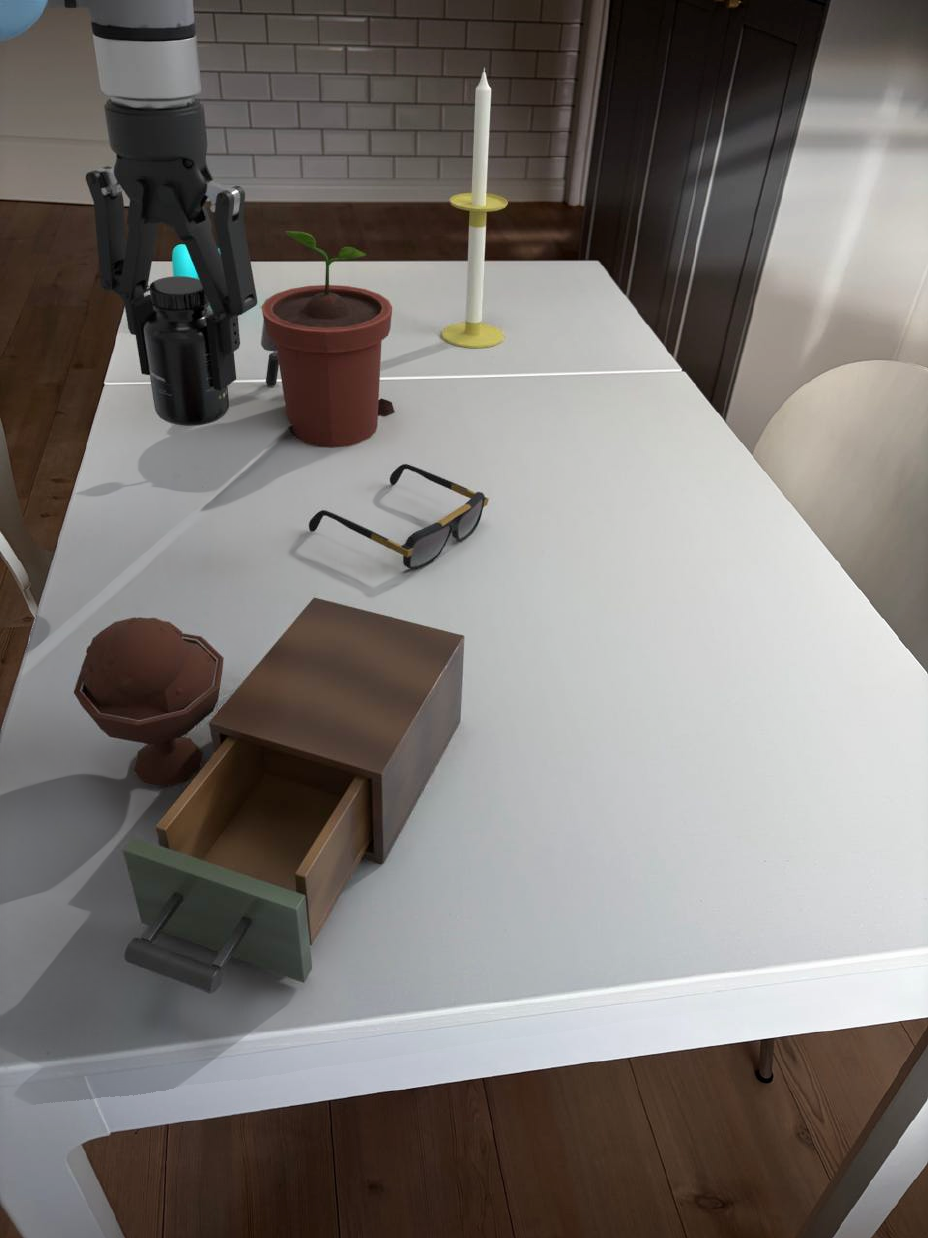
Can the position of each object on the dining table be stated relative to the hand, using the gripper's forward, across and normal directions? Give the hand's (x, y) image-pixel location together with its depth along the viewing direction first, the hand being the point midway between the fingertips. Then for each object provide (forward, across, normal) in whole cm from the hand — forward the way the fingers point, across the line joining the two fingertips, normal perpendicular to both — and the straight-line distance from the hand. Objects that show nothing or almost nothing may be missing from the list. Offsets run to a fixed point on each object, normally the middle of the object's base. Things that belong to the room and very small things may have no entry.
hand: (189, 376), depth 91 cm
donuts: (+21, +40, -64) cm, 78 cm away
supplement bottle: (+4, 0, 0) cm, 4 cm away
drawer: (+20, -25, +35) cm, 48 cm away
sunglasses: (+21, -15, -14) cm, 30 cm away
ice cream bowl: (+21, -12, +26) cm, 36 cm away
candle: (+21, -3, -71) cm, 74 cm away
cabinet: (+21, -25, +21) cm, 39 cm away
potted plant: (+21, +5, -36) cm, 42 cm away
